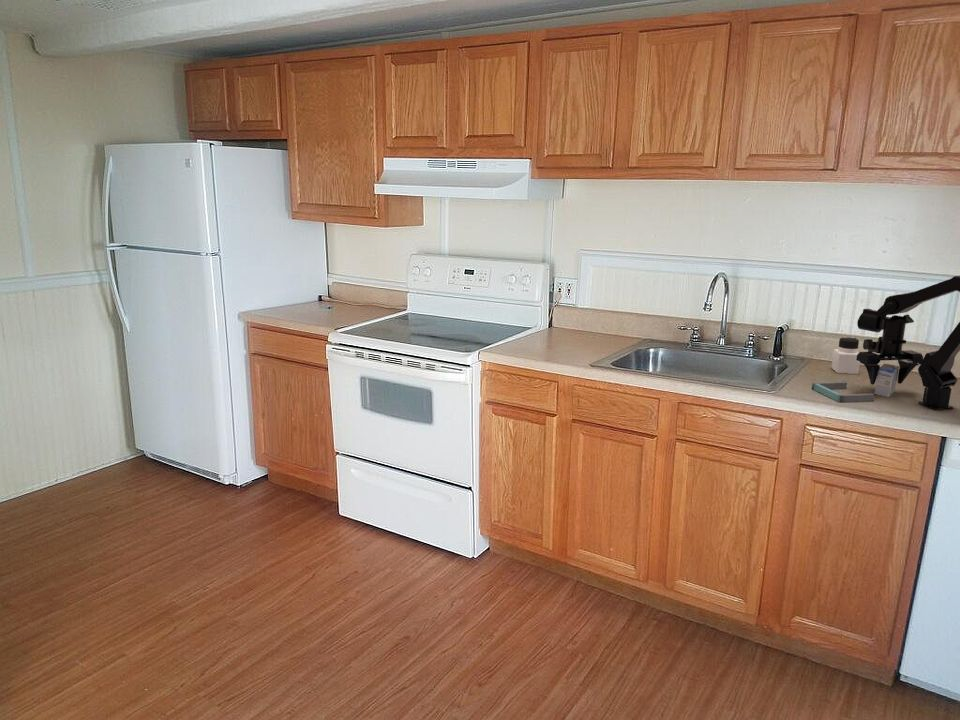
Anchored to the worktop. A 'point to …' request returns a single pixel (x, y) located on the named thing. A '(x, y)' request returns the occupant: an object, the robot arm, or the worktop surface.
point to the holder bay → (825, 389)
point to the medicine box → (886, 380)
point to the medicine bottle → (846, 356)
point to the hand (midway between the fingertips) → (885, 383)
